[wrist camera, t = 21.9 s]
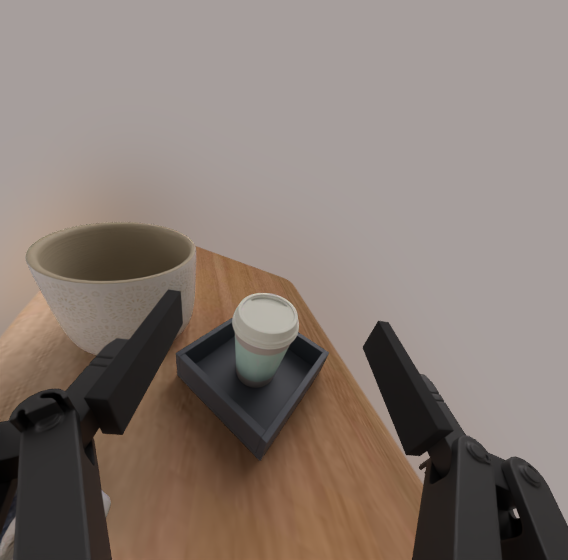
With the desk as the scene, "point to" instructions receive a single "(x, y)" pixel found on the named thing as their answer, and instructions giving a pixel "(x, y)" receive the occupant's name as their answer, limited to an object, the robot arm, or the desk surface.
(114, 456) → the desk surface
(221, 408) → the bin
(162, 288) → the planter
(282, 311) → the coffee cup
